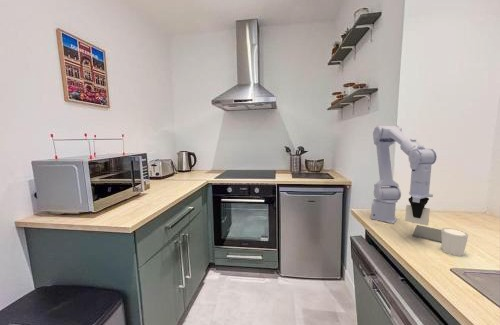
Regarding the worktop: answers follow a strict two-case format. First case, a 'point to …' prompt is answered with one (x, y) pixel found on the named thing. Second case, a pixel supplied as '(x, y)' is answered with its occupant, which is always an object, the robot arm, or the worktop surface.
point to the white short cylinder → (453, 241)
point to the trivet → (427, 233)
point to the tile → (423, 220)
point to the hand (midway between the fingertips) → (417, 216)
